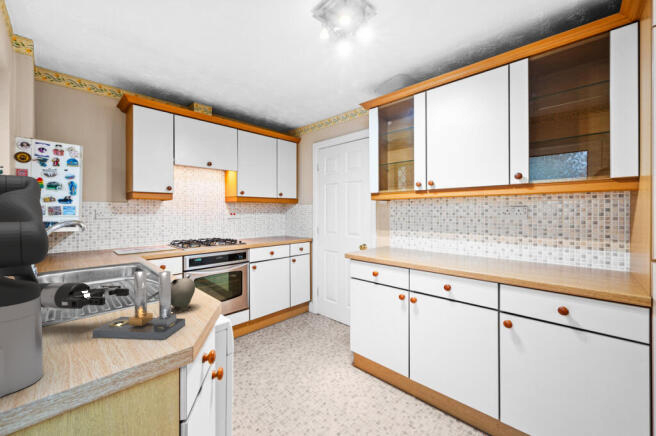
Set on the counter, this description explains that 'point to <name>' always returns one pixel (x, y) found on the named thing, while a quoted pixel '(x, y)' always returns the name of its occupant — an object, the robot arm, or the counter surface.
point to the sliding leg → (140, 300)
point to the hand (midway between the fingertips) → (116, 296)
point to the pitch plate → (151, 330)
